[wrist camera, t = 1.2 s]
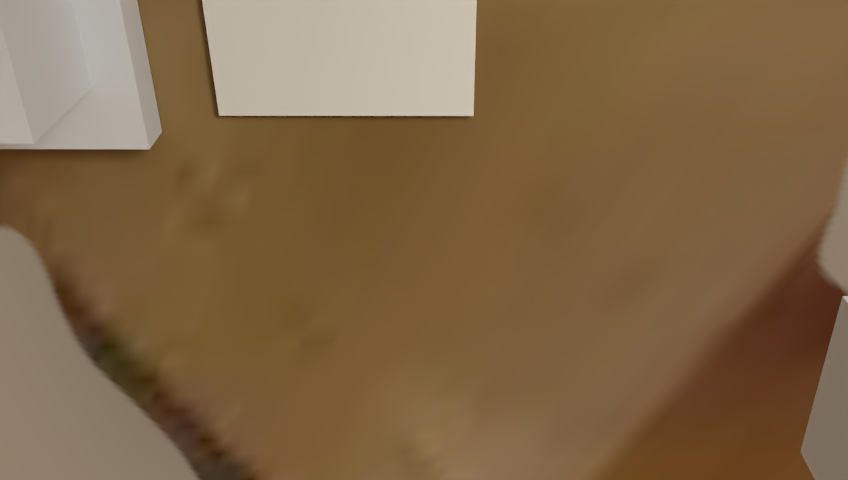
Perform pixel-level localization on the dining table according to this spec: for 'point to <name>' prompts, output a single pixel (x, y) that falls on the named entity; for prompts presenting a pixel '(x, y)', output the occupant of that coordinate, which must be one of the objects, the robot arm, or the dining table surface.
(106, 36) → the housing
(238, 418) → the dining table surface
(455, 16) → the pad
